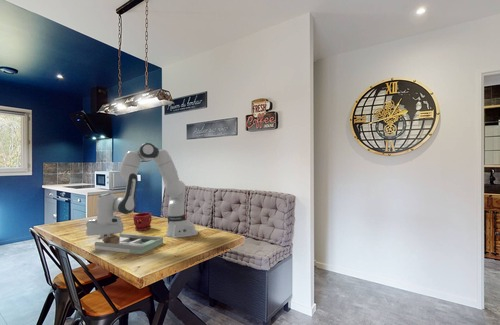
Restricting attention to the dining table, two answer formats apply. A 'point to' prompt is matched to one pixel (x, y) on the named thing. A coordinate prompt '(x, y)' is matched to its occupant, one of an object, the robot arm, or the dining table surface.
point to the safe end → (148, 246)
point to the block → (112, 239)
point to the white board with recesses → (126, 243)
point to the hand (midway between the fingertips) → (105, 241)
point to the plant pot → (142, 221)
